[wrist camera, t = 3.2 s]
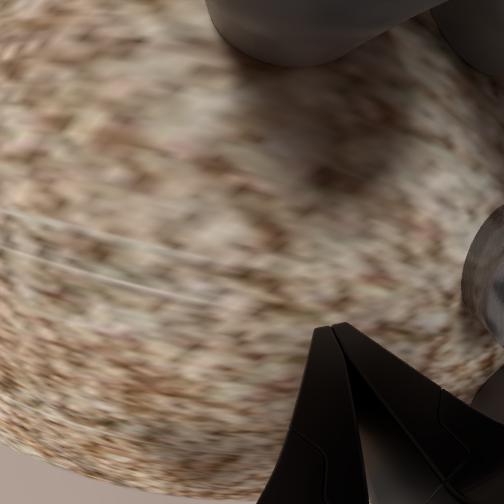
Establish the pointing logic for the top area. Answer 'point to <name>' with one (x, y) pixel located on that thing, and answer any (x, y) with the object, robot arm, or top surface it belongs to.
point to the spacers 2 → (486, 401)
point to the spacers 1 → (354, 28)
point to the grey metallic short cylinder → (487, 275)
